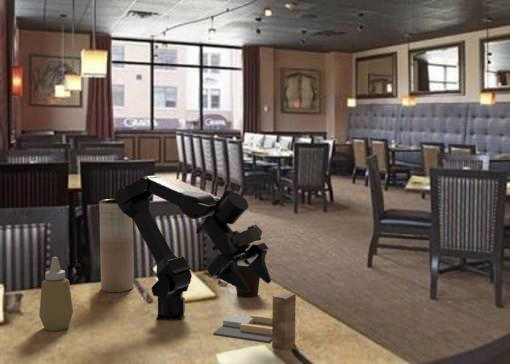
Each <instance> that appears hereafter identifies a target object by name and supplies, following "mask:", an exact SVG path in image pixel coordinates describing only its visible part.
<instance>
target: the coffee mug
mask: <svg viewBox="0 0 510 364" xmlns="http://www.w3.org/2000/svg"><path fill="white" fill-rule="evenodd" d="M248 266H249V265H248V264H246V263H245V262H244V261H241V262H238V271H239V272H240V274H241V275H242V277H243V279H244V280H245V282H246V283H247V285H248V287H249V289H250V291H249V292H247V293H246V292H244V291H242V290H240V289H239V288H237V287H235V290H236V296H237V297H239V298H245V299H246V298H247V299H249V298H250V299H252V298H255V297H257V296H258V295H259V289H260V280H261V278H260V277H259V276H257V275H256V274H255V273H254V272H253V271H251V270H250V269H249V268H248Z"/></svg>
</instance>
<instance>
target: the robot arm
mask: <svg viewBox="0 0 510 364" xmlns="http://www.w3.org/2000/svg"><path fill="white" fill-rule="evenodd" d="M153 196H156V197H158V198H160V199H162V200H164V201H167V202H169V203H170V204H173V205H174V206H177V208H179V210H180V211H181V213H182V214H184V215H185V216H187V217H188V218H189V219H191V220H198V219H201V218H202V219H203V218H204V219H203V221H201V222H200V221H199V222H197V223H196V225H197V226H196V229H195V230H196V231H195V232H196V234H198V235H200V234H203V233H205V234H206V236H207V237H208V239H209V240H210V242H211V243H212V244H213V246H212V250H213V252H216V251H217V252H218V253H219V254H217V255H216V256H215V257H214V259H212V260H211V262H210V263H209V264H208V265H207V271H206V272H207V273H208V275H209V276H210V277H211V278H212V279H213V278H216V279H217V280H221V281H224V282H225V283H227V284H230V285H232V286H233V287H235V288H236V287H237V288H239V289H240V290H242V291H244V292H246V293H247V292H249V291H250V289H249V287H248V285H247V283H246V282H245V280H244V279H243V277H242V275H241V274H240V272H239V271H238V262H241V261H244V262H245V263H246V264H248V265H249V266H248V268H249V269H250V270H251V271H253V272H254V273H255V274H256V275H257V276H259V277H260V280H262V281H263V282H265V283H266V284H268V285H269V284H270V283H271V282H272V278H271V276H270V273H269V270H268V267H267V264H266V255H267V254H268V250H269V249H270V248H269V247H268V246H267V244H266V243H265V242H261V240H262V234H263V230H262V229H261V228H260V227H259V226H258V225H257V224H253V225H251V226H248V227H247V229H246V230H243V231H238V230H233V229H232V228H231V227H230V225H234V224H235V223H236V222H237V221H238V220H239V219H240V218H241V216H242V215H243V214H244V213H245V212H246V211H247V210H248V209H249V202H248V200H247V199H246V198H245V197H243V196H242V195H241V194H240V193H237V192H234V190H233V189H232V188H230V189H226V190H225V191H224V192H223V193H222V196H221V197H220V198H219V199H215V198H214V197H213V195H211V194H208V193H205V192H204V193H203V192H198V191H197V192H196V191H189V190H186V189H184V188H182V187H179V186H177V185H175V184H173V183H171V182H168V181H167V180H164V179H161V178H160V177H158V176H157V175H144V176H143V177H141V178H139V179H138V180H137V181H135V182H134V181H133V182H132V183H130V184H129V185H126V186H124V187H120V188H119V189H118V190H117V191H116V194H115V197H114V199H115V200H116V203H117V205H118V206H119V208H120V209H121V210H122V212H123V213H124V214H126V215H127V216H129V217H130V218H132V219H133V223H134V224H135V226H136V228H137V230H138V231H139V233H140V235H141V237H142V239H143V240H144V243H145V245H146V246H147V249H148V250H149V252H150V254H151V256H152V257H153V260H154V262H155V264H156V269H155V270H156V272H155V273H156V274H155V275H156V277H157V281H156V282H155V283H154V284H153V285H152V286H151V292H152V296H154V297H157V315H156V318H155V319H156V320H181V319H182V317H183V316H184V315H185V313H186V298H185V297H184V296H183V295H184V294H183V293H185V292H187V291H189V290H188V289H189V285H191V281H192V278H193V276H192V275H193V274H192V271H191V270H192V268H191V267H190V266H189V264H188V263H187V260H186V258H185V257H184V256H180V257H178V256H176V255H175V254H174V253H173V252H172V250H171V248H170V246H169V244H168V242H167V241H166V239H165V237H164V235H163V233H162V232H161V230H160V228H159V227H158V224H157V222H156V221H155V219H154V217H153V215H152V214H151V212H150V205H151V203H150V198H151V197H153ZM257 241H258V242H257ZM259 241H260V242H259ZM254 242H256V243H254ZM252 243H253V244H252ZM251 244H252V245H251Z"/></svg>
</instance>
